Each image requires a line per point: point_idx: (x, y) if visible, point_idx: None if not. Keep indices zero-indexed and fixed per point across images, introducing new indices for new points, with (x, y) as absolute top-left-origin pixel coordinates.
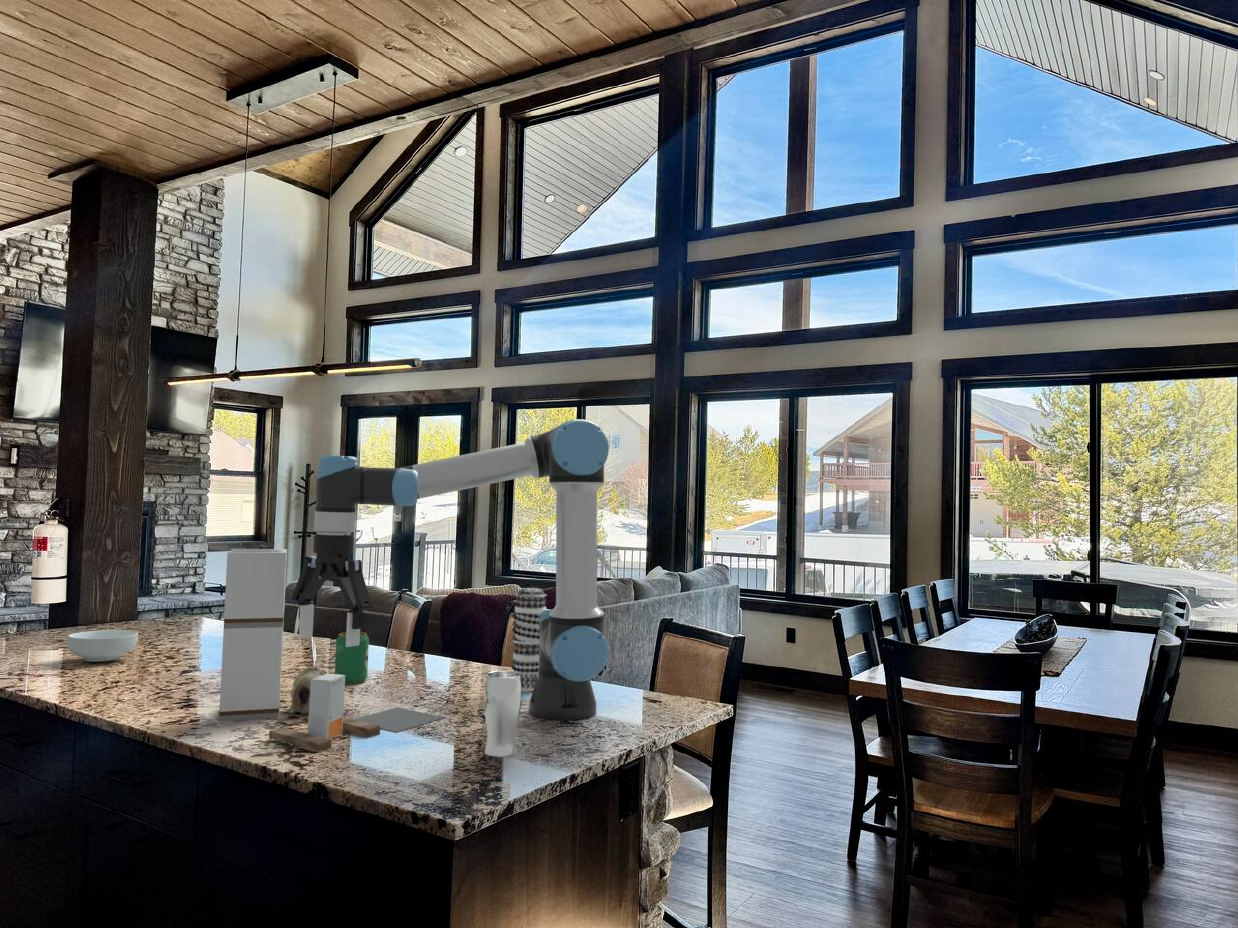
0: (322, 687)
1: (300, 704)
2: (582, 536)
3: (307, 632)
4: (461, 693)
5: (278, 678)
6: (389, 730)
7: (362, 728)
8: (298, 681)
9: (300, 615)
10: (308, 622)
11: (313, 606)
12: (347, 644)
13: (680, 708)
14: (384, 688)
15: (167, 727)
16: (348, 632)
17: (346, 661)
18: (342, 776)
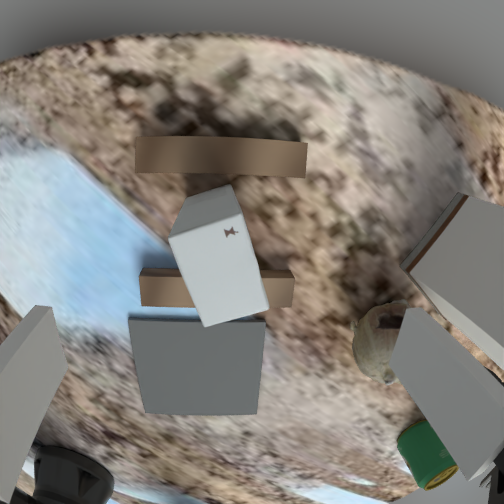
0: (194, 221)
1: (390, 311)
2: None
3: (408, 354)
4: (242, 482)
5: (446, 296)
6: (146, 320)
7: (158, 276)
8: None
9: (488, 376)
10: (434, 389)
11: (464, 471)
12: (34, 311)
13: (33, 491)
14: (354, 447)
15: (485, 130)
16: (2, 348)
17: (426, 445)
18: (25, 95)
